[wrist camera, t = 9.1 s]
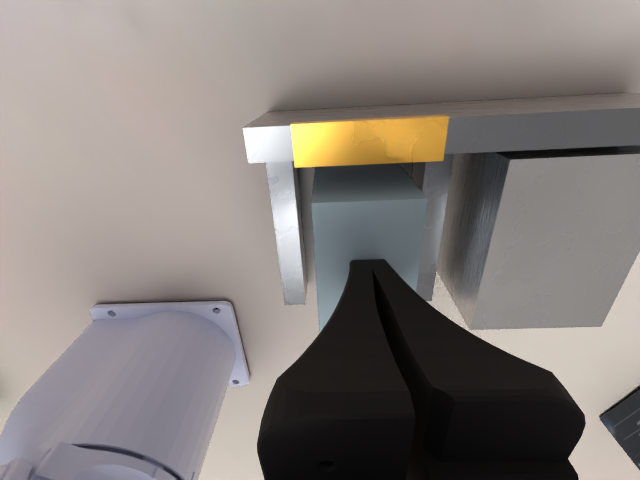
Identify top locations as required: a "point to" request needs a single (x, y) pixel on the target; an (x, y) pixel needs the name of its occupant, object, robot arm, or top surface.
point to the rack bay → (484, 197)
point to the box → (626, 425)
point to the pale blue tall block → (364, 225)
